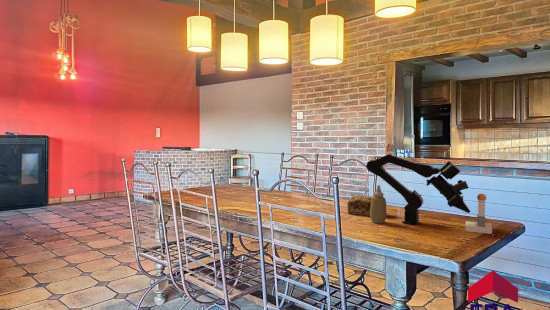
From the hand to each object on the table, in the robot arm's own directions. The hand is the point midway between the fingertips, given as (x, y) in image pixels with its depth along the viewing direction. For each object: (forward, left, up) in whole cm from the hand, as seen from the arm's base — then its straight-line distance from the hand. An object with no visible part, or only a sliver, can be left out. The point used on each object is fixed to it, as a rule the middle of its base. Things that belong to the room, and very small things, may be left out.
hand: (469, 212), depth 166 cm
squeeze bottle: (-25, +31, -8) cm, 40 cm away
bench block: (+2, -4, -8) cm, 9 cm away
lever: (+2, -4, -4) cm, 6 cm away
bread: (-15, +48, -8) cm, 51 cm away
